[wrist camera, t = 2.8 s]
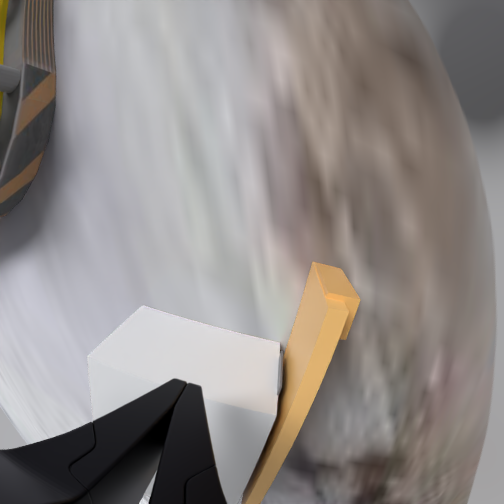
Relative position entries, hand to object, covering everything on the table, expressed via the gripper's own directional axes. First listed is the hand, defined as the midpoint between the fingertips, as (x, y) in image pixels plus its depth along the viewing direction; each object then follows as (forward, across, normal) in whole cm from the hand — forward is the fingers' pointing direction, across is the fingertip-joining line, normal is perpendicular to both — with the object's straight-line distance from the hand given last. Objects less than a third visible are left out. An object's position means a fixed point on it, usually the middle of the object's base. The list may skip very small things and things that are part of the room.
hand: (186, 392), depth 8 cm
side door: (+8, -4, +4) cm, 10 cm away
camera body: (+8, +1, +7) cm, 11 cm away
